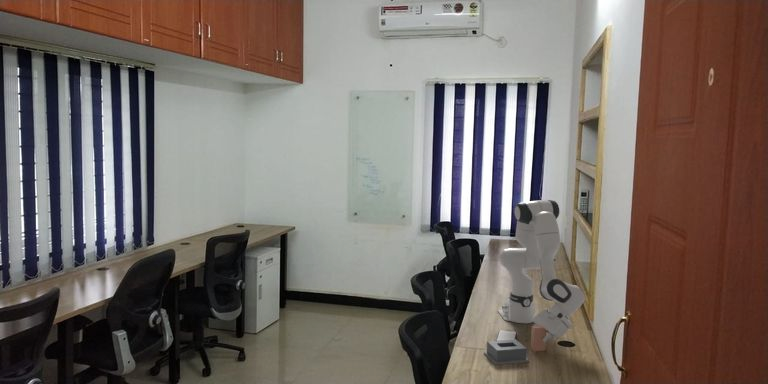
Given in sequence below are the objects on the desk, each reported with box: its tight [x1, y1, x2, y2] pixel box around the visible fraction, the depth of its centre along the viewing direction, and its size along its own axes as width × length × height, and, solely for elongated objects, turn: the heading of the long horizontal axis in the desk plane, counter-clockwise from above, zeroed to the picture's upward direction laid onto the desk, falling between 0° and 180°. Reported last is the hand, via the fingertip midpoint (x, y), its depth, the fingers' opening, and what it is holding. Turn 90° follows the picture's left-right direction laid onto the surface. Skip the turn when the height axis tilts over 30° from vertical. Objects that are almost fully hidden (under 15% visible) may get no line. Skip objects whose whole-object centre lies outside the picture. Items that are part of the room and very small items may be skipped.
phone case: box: [495, 329, 518, 341], centre depth 260 cm, size 9×2×16 cm
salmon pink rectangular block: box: [530, 325, 548, 352], centre depth 246 cm, size 3×6×11 cm, turn 103°
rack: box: [483, 338, 530, 366], centre depth 236 cm, size 12×16×6 cm
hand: (537, 337), depth 246 cm, fingers open, 8 cm apart
